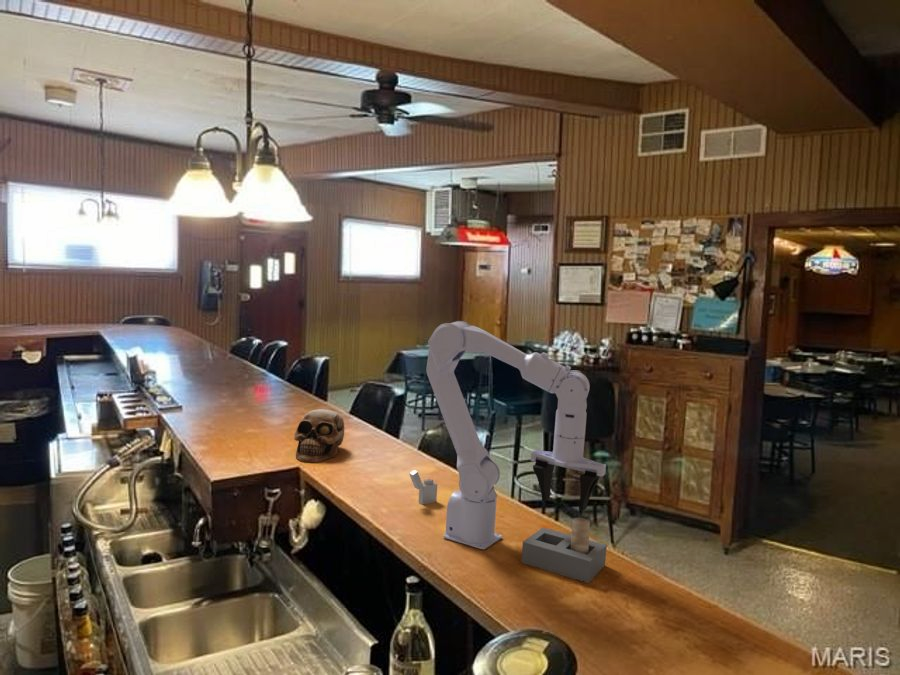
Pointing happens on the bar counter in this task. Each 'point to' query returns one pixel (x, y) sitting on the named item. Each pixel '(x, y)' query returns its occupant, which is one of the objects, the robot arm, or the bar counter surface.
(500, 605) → the bar counter surface
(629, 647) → the bar counter surface
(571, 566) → the socket block
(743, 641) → the bar counter surface
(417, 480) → the lighter
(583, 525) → the dowel
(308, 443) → the brown skull
